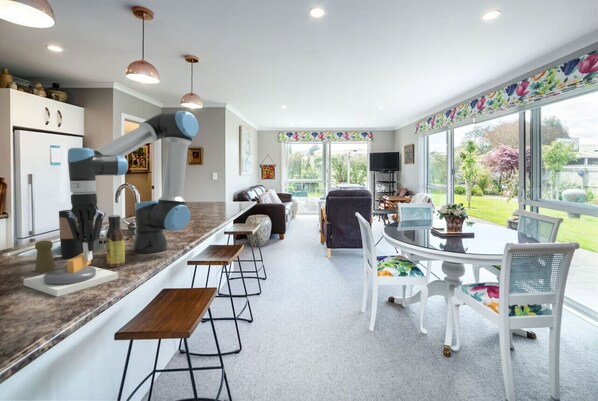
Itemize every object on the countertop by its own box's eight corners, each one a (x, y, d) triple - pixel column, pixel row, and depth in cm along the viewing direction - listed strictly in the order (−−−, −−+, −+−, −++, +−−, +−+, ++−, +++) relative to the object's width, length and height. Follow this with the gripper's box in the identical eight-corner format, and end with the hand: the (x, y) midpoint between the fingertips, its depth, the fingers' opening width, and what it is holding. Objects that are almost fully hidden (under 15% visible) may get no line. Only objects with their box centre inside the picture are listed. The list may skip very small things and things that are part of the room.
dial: (82, 283, 101) (81, 266, 101) (33, 285, 99) (31, 267, 99) (108, 266, 119) (108, 252, 118) (67, 267, 117) (66, 252, 117)
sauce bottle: (108, 264, 130) (106, 214, 128) (126, 262, 132) (124, 214, 131) (105, 268, 124) (103, 217, 122) (124, 267, 126) (122, 216, 125)
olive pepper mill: (44, 272, 119) (42, 243, 118) (30, 271, 120) (28, 242, 119) (59, 267, 125) (57, 239, 124) (46, 266, 126) (44, 238, 125)
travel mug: (59, 259, 136) (56, 212, 134) (63, 255, 143) (61, 210, 141) (80, 258, 139) (78, 211, 137) (84, 253, 146) (82, 209, 144)
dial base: (85, 269, 123) (84, 264, 122) (118, 278, 113) (118, 272, 113) (23, 285, 106) (23, 278, 106) (57, 296, 97) (56, 289, 96)
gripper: (56, 194, 109) (62, 263, 111) (96, 193, 109) (101, 262, 111) (71, 192, 116) (76, 257, 118) (108, 192, 117) (112, 256, 119)
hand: (88, 260), depth 115 cm, fingers closed
